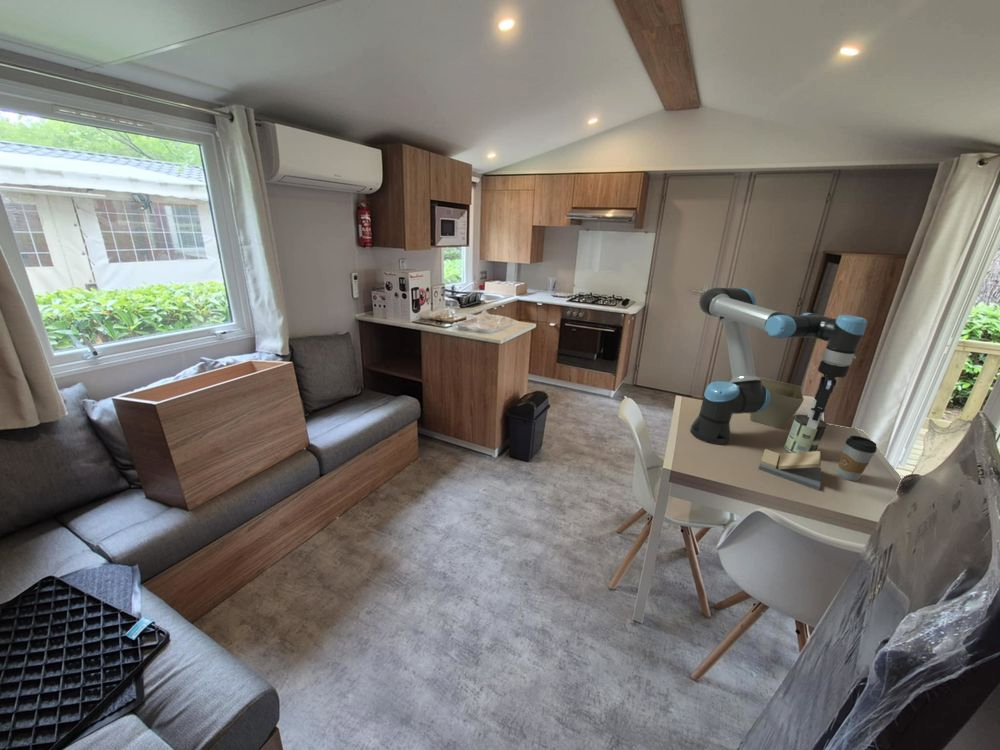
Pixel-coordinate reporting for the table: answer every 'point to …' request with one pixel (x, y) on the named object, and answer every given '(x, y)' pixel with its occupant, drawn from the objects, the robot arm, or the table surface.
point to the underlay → (790, 471)
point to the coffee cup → (855, 457)
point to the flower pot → (779, 403)
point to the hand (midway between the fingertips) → (811, 422)
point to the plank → (800, 460)
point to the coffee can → (804, 435)
